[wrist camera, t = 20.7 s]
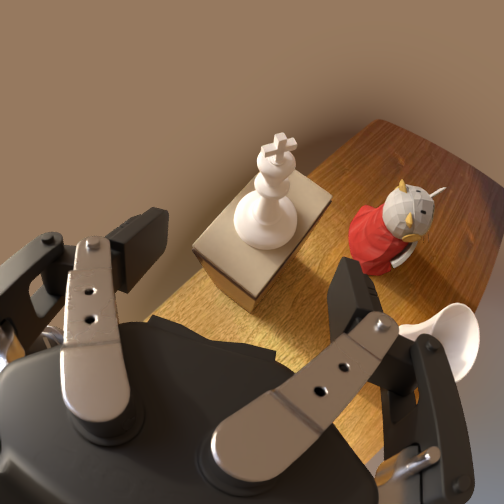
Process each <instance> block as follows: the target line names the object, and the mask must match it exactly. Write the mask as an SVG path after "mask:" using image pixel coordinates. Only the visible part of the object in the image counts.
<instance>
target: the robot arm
mask: <svg viewBox="0 0 504 504" xmlns="http://www.w3.org/2000/svg"><path fill="white" fill-rule="evenodd" d="M168 221H169V213H168V211H167V210H163V209H159V208H155V207H152V208H150V209H149V210H147V211H146V212H144V213H143V214H142V215H141V214H140V215H137V216H134V217H131V218H130V219H128V220H127V221H125V222H124V223H123V224H121V225H120V226H119V227H117V228H116V229H114V230H113V231H112V232H110V233H109V234H108V235H106V236H105V237H101V236H91V237H87V238H84V239H82V240H81V241H80V242H78V244H77V246H69V245H64V243H63V237H62V235H61V234H60V233H57V232H48V233H44V234H41V235H40V236H38V237H36V238H35V239H34V240H33V241H31V242H30V243H28V244H27V245H26V246H24V247H23V248H22V249H21V250H19V251H18V252H17V253H15V254H14V255H13V256H12V257H11V258H9V259H8V260H7V261H6V262H5V263H3V264H2V265H1V266H0V504H465V503H466V502H467V501H468V500H469V499H470V498H471V496H472V494H473V491H474V487H475V479H474V469H473V462H472V454H471V448H470V442H469V436H468V431H467V426H466V421H465V417H464V413H463V409H462V405H461V401H460V397H459V394H458V390H457V386H456V383H455V380H454V376H453V373H452V370H451V367H450V364H449V361H448V358H447V355H446V352H445V350H444V347H443V345H442V344H441V343H440V341H439V340H437V339H436V338H435V337H433V336H432V335H430V334H425V333H423V334H420V335H419V336H418V337H417V339H416V340H415V341H412V340H410V339H408V338H406V337H404V336H402V335H400V334H399V327H398V325H397V323H396V322H395V321H394V319H392V318H391V317H390V316H388V315H387V314H385V313H383V310H382V307H381V304H380V301H379V298H378V297H377V296H378V295H377V292H376V290H375V286H374V283H373V281H372V280H371V279H370V278H369V276H368V275H367V274H364V273H363V271H362V268H361V265H360V262H359V261H357V260H354V259H350V258H346V257H342V259H341V260H340V262H339V265H338V267H337V270H336V272H335V274H334V277H333V279H332V281H331V284H330V286H329V289H328V294H327V303H328V314H329V326H330V340H331V344H330V345H329V346H328V347H327V348H325V349H324V350H323V351H322V352H321V353H320V354H319V355H317V356H316V357H315V358H314V359H313V360H311V361H310V362H309V363H308V364H307V365H305V366H304V367H303V368H302V369H300V370H299V371H298V372H297V373H296V374H295V373H294V372H293V371H291V370H290V369H289V368H287V367H286V366H284V365H282V364H281V363H279V362H277V361H275V357H276V351H274V350H270V349H265V348H261V347H257V346H253V345H250V344H246V343H234V342H222V341H212V340H209V339H206V338H205V337H203V336H201V335H199V334H197V333H195V332H194V331H192V330H190V329H188V328H187V327H185V326H183V325H181V324H178V323H175V322H173V321H170V320H167V319H164V318H161V317H158V316H155V315H152V316H151V318H150V319H149V321H148V322H147V323H146V322H127V323H122V324H119V318H118V312H117V304H116V297H115V293H116V292H117V290H119V291H122V292H124V293H127V294H128V293H129V292H130V291H131V289H132V288H133V287H134V286H135V285H136V283H137V282H138V281H139V280H140V279H141V278H142V277H143V275H144V274H145V273H146V272H147V271H148V270H149V269H150V268H151V266H152V265H153V264H154V263H155V262H156V261H157V260H158V259H159V257H160V256H161V255H162V254H163V253H164V251H165V248H166V245H167V236H168ZM40 273H41V277H42V281H43V285H42V286H41V287H40V288H39V289H38V290H37V291H36V293H34V294H33V296H31V297H30V295H29V286H30V283H31V282H32V280H34V279H35V278H36V277H37V276H38V275H39V274H40ZM64 305H65V314H64V342H63V344H61V343H60V341H59V340H58V339H57V338H56V337H55V336H54V335H53V334H51V333H47V332H42V331H43V330H44V329H45V328H46V327H47V325H48V324H49V323H50V322H51V320H52V319H53V318H54V317H55V316H56V314H57V313H58V312H59V311H60V310H61V309H62V307H63V306H64ZM367 381H368V382H370V383H373V384H375V385H377V386H380V390H381V401H382V414H383V433H384V462H382V463H381V464H380V466H379V467H378V469H377V471H376V475H375V478H374V477H373V476H372V475H371V473H370V472H369V470H368V469H367V468H366V467H365V465H364V464H363V463H362V461H361V460H360V459H359V457H358V456H357V455H356V454H355V452H354V451H353V450H352V448H351V447H350V446H349V444H348V443H347V442H346V440H345V439H344V438H343V436H342V435H341V434H340V432H339V431H338V429H337V428H336V427H335V425H334V424H333V423H332V422H333V421H334V420H335V419H336V418H337V417H338V416H339V414H340V413H341V412H342V411H343V410H344V409H345V408H346V406H347V405H348V404H349V403H350V402H351V400H352V399H353V398H354V397H355V396H356V394H357V393H358V392H359V391H360V389H361V388H362V387H363V386H364V384H365V383H366V382H367ZM417 387H418V390H419V401H418V403H417V405H416V400H415V394H414V390H415V389H416V388H417Z"/></svg>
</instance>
